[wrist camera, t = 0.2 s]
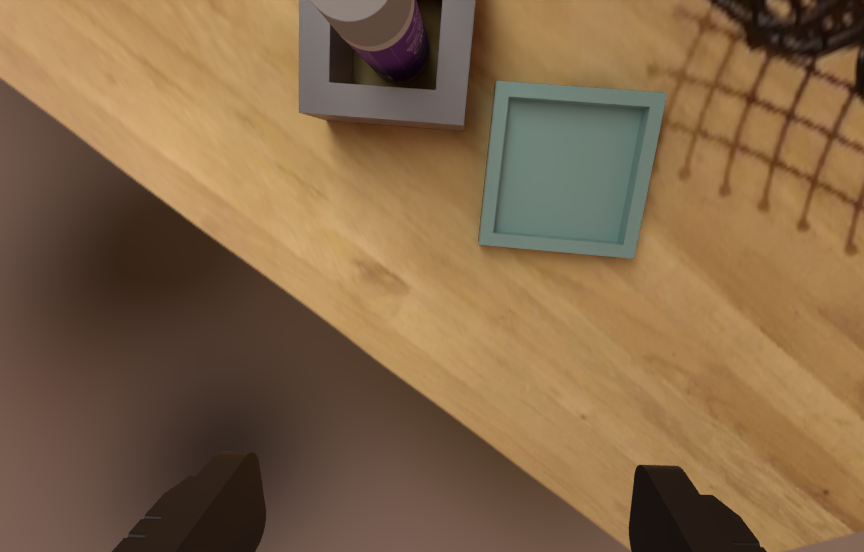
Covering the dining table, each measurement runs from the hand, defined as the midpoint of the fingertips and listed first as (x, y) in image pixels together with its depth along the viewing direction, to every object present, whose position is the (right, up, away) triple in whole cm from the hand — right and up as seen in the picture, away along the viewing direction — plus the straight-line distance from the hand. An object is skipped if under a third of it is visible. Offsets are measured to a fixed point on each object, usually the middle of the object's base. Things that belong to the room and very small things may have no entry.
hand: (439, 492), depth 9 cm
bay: (-3, +22, +24) cm, 33 cm away
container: (-3, +22, +24) cm, 33 cm away
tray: (+10, +13, +25) cm, 30 cm away
